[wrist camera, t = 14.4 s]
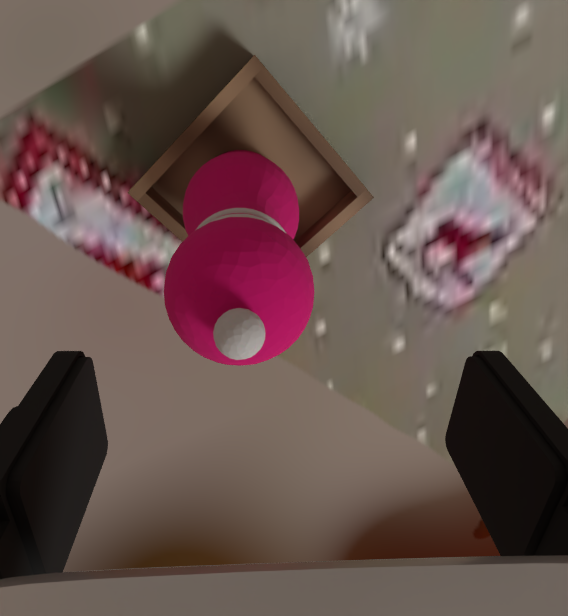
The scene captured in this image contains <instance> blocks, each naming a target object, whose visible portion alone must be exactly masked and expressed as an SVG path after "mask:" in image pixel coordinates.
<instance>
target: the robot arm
mask: <svg viewBox="0 0 568 616" xmlns="http://www.w3.org/2000/svg"><path fill="white" fill-rule="evenodd" d="M445 441H446V447H447V450H448V452H449V454H450V456H451V458H452V460H453V462H454V464H455V466H456V468H457V470H458V472H459V474H460V476H461V478H462V480H463V482H464V484H465V486H466V488H467V490H468V492H469V494H470V495H471V498H472V500H473V502H474V503H475V505H476V507H477V509H478V511H479V513H480V515H481V517H482V519H483V521H484V523H485V525H486V527H487V529H488V531H489V533H490V535H491V537H492V539H493V541H494V543H495V545H496V547H497V549H498V551H499V553H500V555H501V556H486V557H450V558H416V559H415V558H414V559H381V560H380V559H379V560H349V561H319V562H293V563H291V562H290V563H262V564H235V565H211V566H184V567H159V568H134V569H116V570H98V571H80V572H64V573H63V569H64V567H65V564H66V562H67V559H68V556H69V553H70V551H71V548H72V546H73V543H74V540H75V537H76V534H77V532H78V529H79V527H80V524H81V521H82V519H83V516H84V513H85V511H86V508H87V505H88V503H89V500H90V497H91V494H92V492H93V489H94V486H95V484H96V481H97V478H98V476H99V473H100V470H101V468H102V465H103V462H104V460H105V457H106V454H107V448H108V440H107V435H106V429H105V424H104V419H103V413H102V408H101V403H100V398H99V392H98V387H97V382H96V377H95V371H94V366H93V361H92V359H91V358H90V357H85V355H84V353H83V352H81V351H57V352H55V353H54V354H53V356H52V357H51V359H50V360H49V362H48V363H47V365H46V366H45V368H44V369H43V370H42V372H41V373H40V375H39V376H38V378H37V379H36V381H35V382H34V384H33V385H32V387H31V388H30V389H29V391H28V392H27V394H26V395H25V397H24V398H23V400H22V401H21V403H20V404H19V406H17V407H15V408H13V409H12V410H11V411H10V412H9V413H8V414H7V415H6V417H5V418H4V420H3V421H2V423H1V424H0V616H568V429H567V427H566V426H565V425H564V424H563V423H562V421H561V420H560V419H559V418H558V417H557V416H556V415H555V413H554V412H553V411H552V410H551V409H550V408H549V406H548V405H547V404H546V403H545V402H544V401H543V399H542V398H541V397H540V396H539V395H538V394H537V392H536V391H535V390H534V389H533V388H532V387H531V386H530V384H529V383H528V382H527V381H526V380H525V379H524V377H523V376H522V375H521V374H520V373H519V372H518V370H517V369H516V368H515V367H514V366H513V365H512V364H511V362H510V361H509V360H508V359H507V358H506V357H505V355H504V354H503V353H502V352H500V351H476V352H475V353H474V354H473V356H472V357H468V358H467V360H466V362H465V366H464V370H463V373H462V377H461V381H460V384H459V388H458V392H457V395H456V399H455V403H454V407H453V410H452V414H451V418H450V421H449V425H448V429H447V432H446V438H445Z"/></svg>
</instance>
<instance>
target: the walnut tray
mask: <svg viewBox="0 0 568 616" xmlns="http://www.w3.org/2000/svg"><path fill="white" fill-rule="evenodd" d="M233 150H247V151H252V152H256V153H258V154H260V155H262V156H264V157H265V158H267V159H269V160H271V161H272V162H274V163H275V164H276V165H277V166H279V167H280V168H281V169H282V170H283V171H284V172H285V174H286V175H287V176H288V177H289V179H290V181H291V182H292V184H293V186H294V188H295V191H296V194H297V198H298V205H299V223H298V229H297V231H296V234H295V237H294V239H293V240H294V241H295V243H296V244H297V245H298V246H299V248H300V249H301V250H302V252H303V253H304V255H305V257H307V256H308V255H309V254H310V253H312V252H313V251H314V250H315V249H316V248H317V247H318V246H320V245H321V244H322V243H323V242H324V241H325V240H326V239H327V238H329V237H330V236H331V235H332V234H333V233H334V232H335V231H337V230H338V229H339V228H340V227H341V226H342V225H343V224H344V223H346V222H347V221H348V220H349V219H350V218H351V217H352V216H354V215H355V214H356V213H357V212H358V211H359V210H360V209H361V208H363V207H364V206H365V205H366V204H367V203H368V202H369V201H371V200H372V199H373V198H374V197H373V196H372V195H371V193H370V192H369V191H368V190H367V189H366V187H365V186H364V185H363V184H362V183H361V181H360V180H359V179H358V178H357V177H356V175H355V174H354V173H353V172H352V171H351V169H350V168H349V167H348V166H347V165H346V163H345V162H344V161H343V160H342V159H341V157H340V156H339V155H338V154H337V153H336V152H335V150H334V149H333V148H332V147H331V146H330V144H329V143H328V142H327V141H326V140H325V138H324V137H323V136H322V135H321V134H320V132H319V131H318V130H317V129H316V128H315V126H314V125H313V124H312V123H311V122H310V120H309V119H308V118H307V117H306V116H305V114H304V113H303V112H302V111H301V110H300V108H299V107H298V106H297V105H296V104H295V103H294V101H293V100H292V99H291V98H290V97H289V95H288V94H287V93H286V92H285V91H284V89H283V88H282V87H281V86H280V85H279V83H278V82H277V81H276V80H275V79H274V77H273V76H272V75H271V74H270V73H269V71H268V70H267V69H266V68H265V67H264V65H263V64H262V63H261V62H260V61H259V59H258V58H257V57H256V56H255V55H254V56H253V57H252V58H251V59H250V60H249V62H248V63H247V64H246V65H245V66H244V67H243V68H242V69H241V70H240V71H239V72H238V73H237V75H236V76H235V77H234V78H233V79H232V80H231V81H230V82H229V83H228V84H227V85H226V86H225V88H224V89H223V90H222V91H221V92H220V93H219V94H218V95H217V96H216V97H215V98H214V99H213V101H212V102H211V103H210V104H209V105H208V106H207V107H206V108H205V109H204V110H203V111H202V112H201V114H200V115H199V116H198V117H197V118H196V119H195V120H194V121H193V122H192V123H191V124H190V125H189V127H188V128H187V129H186V130H185V131H184V132H183V133H182V134H181V135H180V136H179V137H178V138H177V140H176V141H175V142H174V143H173V144H172V145H171V146H170V147H169V148H168V149H167V150H166V151H165V153H164V154H163V155H162V156H161V157H160V158H159V159H158V160H157V161H156V162H155V163H154V164H153V166H152V167H151V168H150V169H149V170H148V171H147V172H146V173H145V174H144V175H143V176H142V177H141V179H140V180H139V181H138V182H137V183H136V184H135V185H134V186H133V187H132V188H131V189H130V190H129V192H128V194H130V195H131V196H132V197H133V198H134V199H135V200H136V201H137V202H139V203H140V204H141V205H142V206H143V207H144V208H145V209H146V210H148V211H149V212H150V213H151V214H152V215H153V216H154V217H155V218H156V219H158V220H159V221H160V222H161V223H162V224H163V225H164V226H165V227H167V228H168V229H169V230H170V231H171V232H172V233H173V234H174V235H175V236H177V237H178V238H179V239H180V240H181V241H182V242H183V241H184V240H185V239H186V238H187V237H188V234H187V232H186V230H185V225H184V221H183V202H184V197H185V192H186V189H187V187H188V184H189V182H190V180H191V179H192V177H193V176H194V174H195V173H196V171H197V170H198V169H199V168H201V167H202V166H203V165H204V164H205V163H207V162H208V161H210V160H211V159H213V158H215V157H217V156H219V155H221V154H223V153H226V152H228V151H233Z"/></svg>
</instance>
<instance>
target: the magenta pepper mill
mask: <svg viewBox="0 0 568 616" xmlns="http://www.w3.org/2000/svg"><path fill="white" fill-rule="evenodd" d="M183 221H184V225H185V230H186V232H187V234H188V237H187V238H186V239H185V240H184V241H183V242H182V243H181V244H180V246H179V247H178V249H177V250H176V252H175V253H174V254H173V256H172V258H171V261H170V263H169V266H168V269H167V271H166V277H165V286H164V298H165V306H166V310H167V313H168V316H169V320H170V321H171V323H172V325H173V327H174V329H175V331H176V332H177V334H178V335H179V336H180V338H181V339H182V340H183V341H184V342H185V343H186V344H187V345H188V346H189V347H190V348H191V349H193V351H195V352H197V353H198V354H200V355H201V356H203V357H205V358H207V359H210V360H213V361H215V362H218V363H222V364H227V365H250V364H257V363H260V362H263V361H266V360H269V359H271V358H273V357H275V356H277V355H279V354H280V353H282V352H283V351H285V350H286V349H288V348H289V347H290V346H291V345H292V344H293V343H294V342H295V341H296V340H297V339H298V338H299V336H300V335H301V333H302V332H303V330H304V328H305V327H306V325H307V323H308V320H309V318H310V315H311V312H312V308H313V300H314V284H313V275H312V272H311V269H310V266H309V263H308V260H307V258H306V257H305V255H304V253H303V252H302V250H301V249H300V248H299V246H298V245H297V244H296V243H295V241H294V240H293V239H294V237H295V234H296V231H297V229H298V223H299V205H298V198H297V194H296V191H295V188H294V186H293V184H292V182H291V181H290V179H289V177H288V176H287V175H286V174H285V172H284V171H283V170H282V169H281V168H280V167H279V166H277V165H276V164H275V163H274V162H272V161H271V160H269V159H267V158H265V157H264V156H262V155H260V154H258V153H256V152H252V151H247V150H233V151H228V152H226V153H223V154H221V155H219V156H217V157H215V158H213V159H211V160H210V161H208V162H207V163H205V164H204V165H203V166H202V167H201V168H199V169H198V170H197V171H196V173H195V174H194V176H193V177H192V179H191V180H190V182H189V184H188V187H187V189H186V192H185V197H184V202H183Z"/></svg>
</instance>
